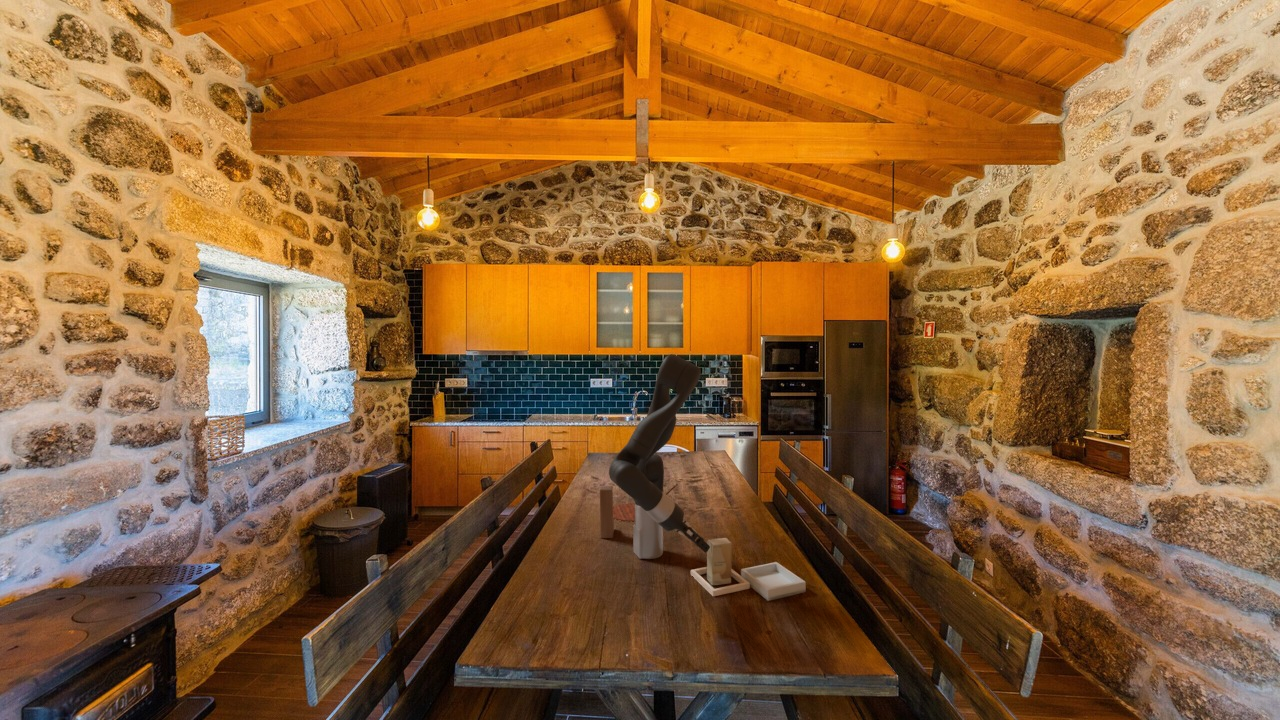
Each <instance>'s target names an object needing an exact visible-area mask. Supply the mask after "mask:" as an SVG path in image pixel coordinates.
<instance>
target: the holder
mask: <svg viewBox="0 0 1280 720" xmlns="http://www.w3.org/2000/svg"><path fill="white" fill-rule="evenodd" d="M705 574H706V575H707V566H704V567H698V568H695V569H690V575H691V577H692V576H693V577H694V578H693V577H692V578H693V579H694V580H695V581H696V582H698V583H699V584H700V586H702V588H704V590H705V591H707V592H708V593H709V594H710V595H711V596H712V597H716V596H717V597H718V596H722V595H726V594H731V593H735V592H740V591H744V590H749V589H751V587H750V583H749V582H748V581H746V580H745V579H744V578H743V577H741V574H739V573H738V572H737V571H735V570H734V569H733V568H732V567H731V578H733V579H734V580H735V581H737V583H735V584H730V585H726V586H720V587H718V588H714V587H713V585H711V583H710V582H709V581H708V580H705V579H704V578H703V577H702V576H701V575H705Z"/></svg>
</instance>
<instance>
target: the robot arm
mask: <svg viewBox="0 0 1280 720" xmlns="http://www.w3.org/2000/svg"><path fill="white" fill-rule="evenodd" d="M701 372H702V371H701V368H700V367H699V366H697V365H696V364H694V363H692V362H689V361H688V360H686V359H684V358H683V357H680V356H678V355H675V354H672V353H670V354H668V355H667V356H665V357H664V359H663V361H662V362H661V364H660V367H659V370H658V373H657V376H656V381H655V385H654V389H653V395H652V400H651V404H650V407H649V408H648V413H647V415H646V416H645V417H643V419H641V421H640V422H639V423H638V424H637V426H636V427H635V429H634V431H633V432H632V435H631V436H630V438H629V440H628V442H627V444H626V445H624V447H623V448H622V449H620V451H619V452H618V453H617V455H615V457H614V459H613V460H612V461H611V463H610V466H609V468H608V469H609V470H608V476H609V479H610V480H611V481H612V483H614V484H615V485H616V486H617V487H618V488H619V489H621V490H622V491H623V492H624V493H625V494H627V495H628V496H629V497H630V498H632V499H633V500H634V503H635V522H634V524H633V526H632V531H633V533H632V535H633V536H632V537H633V538H632V539H633V542H632V543H633V544H632V545H633V553H634V554H635V555H636V556H637V558H639V559H640V560H641V559H645V560H651V559H659V558H660V557H661V556H662V555H663V554H664V544H663V543H664V536H663V535H664V534H663V533H664V532H663V531H664V530H665V531H667V532H671V531H675V532H677V533H678V534H679V535H680V536H683V537H684V538H685V539H686V540H687V541H689V542H692V543H693V544H694V545H695V546H696V547H698V548H699V549H700V550H702V551H703V552H704V553H705V554H706V553H707V551H708V550H709V548H710V546H709V545H708V544H707V541H705V539H704V538H703V537H701V535H700V534H698V533H697V530H696V529H695V528H693V526H691V525H690V522H688V521H687V520H685V519H684V517H685V511H684V510H683V508H682V507H681V506H680V505H679V504H678V503H676V501H674V500H673V499H672V498H671V497H670V496H668V494H667V495H666V493H665V492H664V482H665V481H664V479H665V476H664V475H665V466H664V461H663V459H662V457H661V456H660V455H659V454H656V453H657V452H659V451H660V450H661V449H662V448H663V447H664V446H666V444H667V443H668V442H669V441H670V440H671V438H672V436H673V434H674V431H675V429H676V428H675V427H676V425H677V414H678V412H679V411H680V409H681V408H682V407H683V405H684V404H685V402H686V401H687V400H688V398H689V397H690V396H691V394H692V393H693V391H694V389H695V387H696V386H697V384H698V383H699V380H700V378H701ZM670 390H671V391H673V392H676V394H675V395H674V397H673V398H672V399H671V395H670Z"/></svg>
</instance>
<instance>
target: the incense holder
mask: <svg viewBox="0 0 1280 720" xmlns="http://www.w3.org/2000/svg"><path fill="white" fill-rule="evenodd" d="M677 486H678V483H676V484H675V485H674V486H672V488H670V489H669V490H668V491H667V492H666V493H665V494H666V495H667V496H668V494H670V492H671V491H673V490H674V489H675V488H676V487H677ZM613 518H614V520H615V519H616V520H615V521H618V520H621V521H620V522H625V521H629V522H628V523H633V522H634V521H635V502H633V503H621V504H617V505H613ZM630 521H632V522H630ZM634 523H635V522H634Z"/></svg>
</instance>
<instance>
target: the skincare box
mask: <svg viewBox="0 0 1280 720" xmlns="http://www.w3.org/2000/svg"><path fill="white" fill-rule="evenodd" d="M706 543H707V544H708V545H709V546H710V548H709V550H708V551H707V552H706V553H707V555H706V567H707V573H706V581H707V582H708V583H709V584H710V585H711V586H720V585H727V584H731V583H732V576H731V568H732V542H731V541H730V540H729V539H728V538H727V537H722V538H721V537H720V538H711V539H707V541H706Z"/></svg>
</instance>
